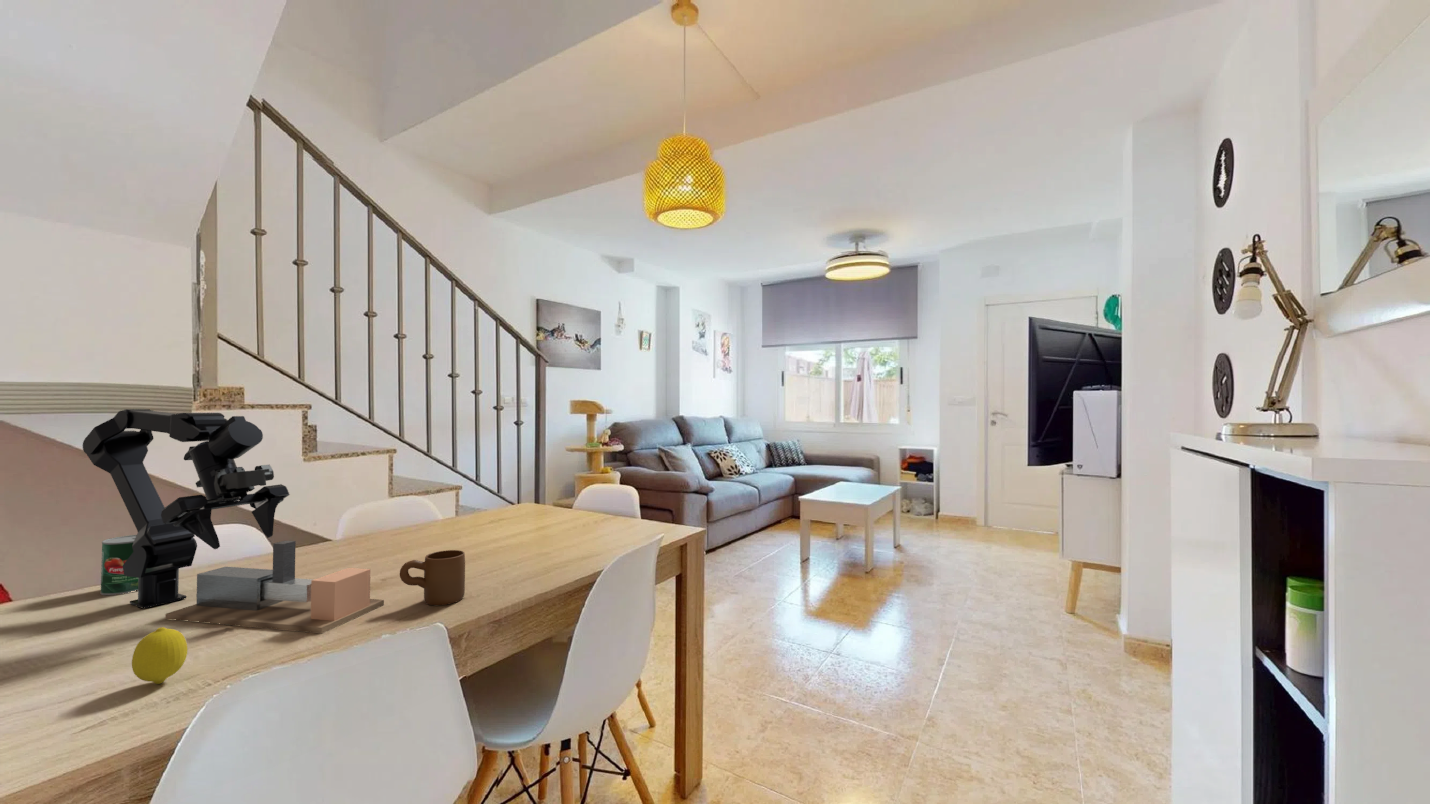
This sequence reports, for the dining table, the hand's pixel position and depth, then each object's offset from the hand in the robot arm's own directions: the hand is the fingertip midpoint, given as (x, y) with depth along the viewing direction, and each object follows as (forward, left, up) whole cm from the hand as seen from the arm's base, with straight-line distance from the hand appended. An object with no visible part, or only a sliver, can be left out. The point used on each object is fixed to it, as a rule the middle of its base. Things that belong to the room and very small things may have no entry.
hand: (244, 542), depth 103 cm
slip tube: (+2, +3, -11) cm, 11 cm away
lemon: (+21, -19, -14) cm, 32 cm away
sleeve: (-4, +1, -13) cm, 13 cm away
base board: (+5, +3, -14) cm, 15 cm away
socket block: (+19, +7, -13) cm, 24 cm away
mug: (+27, +20, -14) cm, 36 cm away
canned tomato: (-39, -3, -14) cm, 42 cm away
